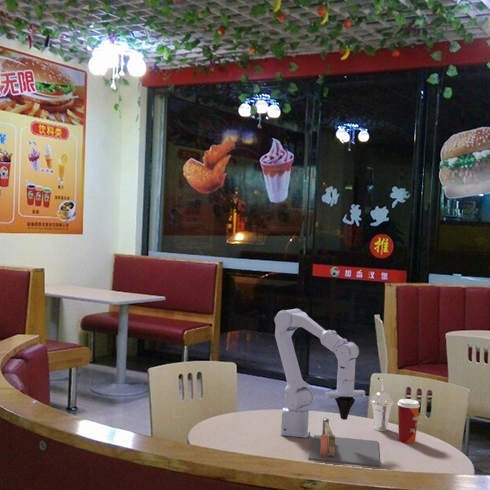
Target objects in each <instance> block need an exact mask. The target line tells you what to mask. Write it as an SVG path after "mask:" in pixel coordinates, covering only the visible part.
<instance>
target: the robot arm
mask: <svg viewBox="0 0 490 490" xmlns="http://www.w3.org/2000/svg"><path fill="white" fill-rule="evenodd" d="M274 324H275V330H274V331H275V332H274V337H275V341H276V345H277V348H278V352H279V356H280V359H281V364H282V368H283V371H284V376H285V379H286V386H285V388H284V390H283V391H284V403H285V406H286V407H283V408H282V411H281V412H282V413H281V424H280V428H281V429H280V430H281V431H280V435H281V436H287V437H294V438H295V437H298V438H308V437H309V436H310V429H309V415H310V414H309V412H310V405H311V404H313V402H314V394H313V392H312V391H311V389H310V387H309V384H308V383H307V381H304V379H303V376H302V373H301V369H300V366H299V362H298V358H297V354H296V351H295V347H294V343H293V339H292V337H293V334H294V333H295V331H296V330H297V329H298V328H303V329H304V330H306V331H308V332H309V333H310V334H312V335H314V336H315V337H317V338H318V339H319V340H320V343H321V345H322V346H323V347H325V348H326V349H328V350H330V351H331V353H334V355H335V357H336V359H337V377H336V380H337V381H336V389H334V390H332V391H324V399H325V400H330V399H334V400H335V402H336V404H337V407H338V412H339V416H340V419H341V420H344V421H346V420H348V418H349V417H348V416H349V414H350V411H351V409H352V406H353V405H354V404H355V402H356V399H355V398H358V397H359V398H360V397H361V398H365V397H366V391H365V390H363V389H355V377H356V376H355V375H356V361H357V359H356V358H357V357H358V356H359V354H360V349H359V346H358V345H357V344H356V343H355V342H353V341H348V340H347V338H343V337H341V336H340V335H339V334H338V333H337V331H336V330H331V329H327V330H326V329H325V328H324V327H322V325H320V324H318V323H317V322H316V321H314V320H313V319H312V318H311V317H309V315H308V314H307V313H306V312H305V311H303V310H301V309H299V308H293V309H286V310H285V309H282V310H280V311H278V312H277V313H276V315H275V316H274Z"/></svg>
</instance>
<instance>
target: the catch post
mask: <svg viewBox="0 0 490 490" xmlns="http://www.w3.org/2000/svg"><path fill="white" fill-rule="evenodd" d="M320 436H321V447H320V456H321V457H327V456H328V438H329V436H328V435H325V434H323V435H322V434H321V435H320Z"/></svg>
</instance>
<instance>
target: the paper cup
mask: <svg viewBox="0 0 490 490" xmlns="http://www.w3.org/2000/svg"><path fill="white" fill-rule="evenodd" d="M420 407H421V405H420V402H419V401H418V400H415V399H412V398H411V399H410V398H401V399H399V400H398V402H397V409H398V412H397V413H398V417H397V418H398V422H397V423H398V424H397V425H398V430H397V431H398V441H399V442H400V443H403V444H408V443H411V444H415V443H416V438H417V430H418V429H417V426H418V419H419V409H420Z"/></svg>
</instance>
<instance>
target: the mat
mask: <svg viewBox="0 0 490 490" xmlns="http://www.w3.org/2000/svg"><path fill="white" fill-rule="evenodd" d="M320 447H321V435H318V434H317V435H316V434H313V439H312V442H311V448H310V451H309V455H308V460H309V461H320V462H321V461H322V462H330V463H337V464H338V463H339V464H350V465H359V466H366V467H367V466H368V467H377V468H380V452H379V451H380V450H379V448H380V447H379V441H378V440H370V439H362V438H361V439H359V438H350V437H342V436H341V437H338V436H335V453H334V456H329V455H328V456H327V457H321V456H320Z"/></svg>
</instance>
